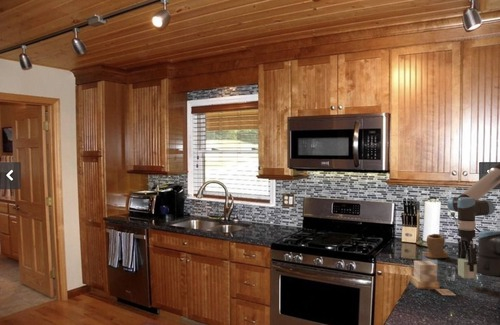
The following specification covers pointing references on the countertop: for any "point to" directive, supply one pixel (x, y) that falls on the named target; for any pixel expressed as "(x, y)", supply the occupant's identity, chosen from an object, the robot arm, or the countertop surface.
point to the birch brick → (425, 271)
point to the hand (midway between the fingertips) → (467, 275)
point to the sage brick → (465, 268)
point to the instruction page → (445, 292)
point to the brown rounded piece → (435, 246)
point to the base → (424, 284)
